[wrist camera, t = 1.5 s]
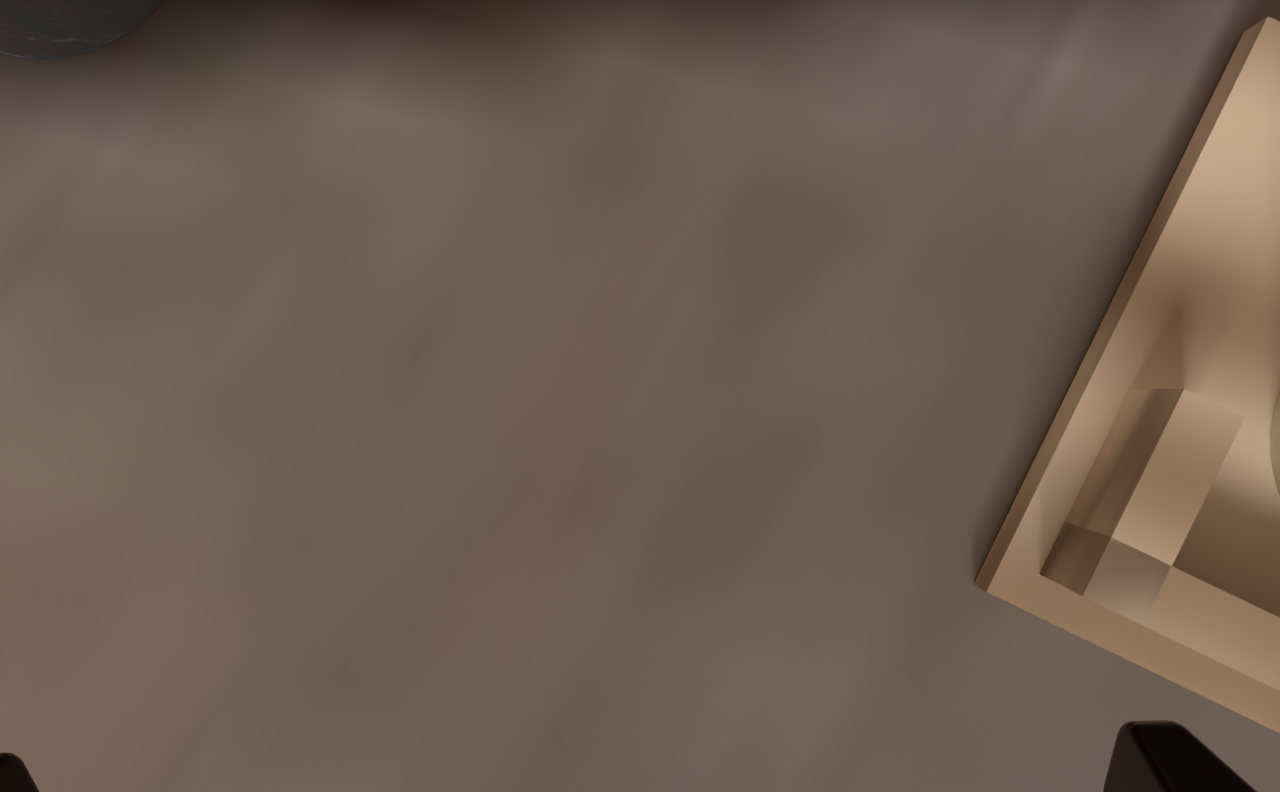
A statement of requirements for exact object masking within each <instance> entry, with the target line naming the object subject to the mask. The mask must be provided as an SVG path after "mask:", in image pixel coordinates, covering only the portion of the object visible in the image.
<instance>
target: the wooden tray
mask: <svg viewBox="0 0 1280 792" xmlns="http://www.w3.org/2000/svg"><path fill="white" fill-rule="evenodd" d="M1279 393H1280V21H1277V20H1275V19H1273V18H1271V17H1269V16H1268V17H1266V18H1264V19H1263V20H1261V21H1260V22H1258V23H1257V24H1255V25H1254V26H1252V27H1251V28H1249V29H1247V30H1246V31H1244V32H1243V34H1242V36H1241V38H1240V40H1239V42H1238V44H1237V46H1236V48H1235V50H1234V52H1233V54H1232V57H1231V59H1230V61H1229V63H1228V65H1227V67H1226V69H1225V71H1224V73H1223V75H1222V77H1221V79H1220V81H1219V83H1218V85H1217V87H1216V89H1215V91H1214V93H1213V95H1212V97H1211V99H1210V102H1209V104H1208V106H1207V108H1206V110H1205V112H1204V114H1203V116H1202V118H1201V120H1200V122H1199V124H1198V126H1197V128H1196V130H1195V132H1194V134H1193V136H1192V138H1191V140H1190V142H1189V144H1188V147H1187V149H1186V151H1185V153H1184V155H1183V157H1182V159H1181V161H1180V163H1179V165H1178V167H1177V169H1176V171H1175V173H1174V175H1173V177H1172V179H1171V181H1170V183H1169V185H1168V187H1167V189H1166V192H1165V194H1164V196H1163V198H1162V200H1161V202H1160V204H1159V206H1158V208H1157V210H1156V212H1155V214H1154V216H1153V218H1152V220H1151V222H1150V224H1149V226H1148V228H1147V230H1146V232H1145V234H1144V237H1143V239H1142V241H1141V243H1140V245H1139V247H1138V249H1137V251H1136V253H1135V255H1134V257H1133V259H1132V261H1131V263H1130V265H1129V267H1128V269H1127V271H1126V273H1125V275H1124V277H1123V279H1122V282H1121V284H1120V286H1119V288H1118V290H1117V292H1116V294H1115V296H1114V298H1113V300H1112V302H1111V304H1110V306H1109V308H1108V310H1107V312H1106V314H1105V316H1104V318H1103V320H1102V322H1101V324H1100V327H1099V329H1098V331H1097V333H1096V335H1095V337H1094V339H1093V341H1092V343H1091V345H1090V347H1089V349H1088V351H1087V353H1086V355H1085V357H1084V359H1083V361H1082V363H1081V365H1080V367H1079V369H1078V372H1077V374H1076V376H1075V378H1074V380H1073V382H1072V384H1071V386H1070V388H1069V390H1068V392H1067V394H1066V396H1065V398H1064V400H1063V402H1062V404H1061V406H1060V408H1059V410H1058V412H1057V414H1056V417H1055V419H1054V421H1053V423H1052V425H1051V427H1050V429H1049V431H1048V433H1047V435H1046V437H1045V439H1044V441H1043V443H1042V445H1041V447H1040V449H1039V451H1038V453H1037V455H1036V457H1035V459H1034V461H1033V464H1032V466H1031V468H1030V470H1029V472H1028V474H1027V476H1026V478H1025V480H1024V482H1023V484H1022V486H1021V488H1020V490H1019V492H1018V494H1017V496H1016V498H1015V500H1014V502H1013V504H1012V506H1011V509H1010V511H1009V513H1008V515H1007V517H1006V519H1005V521H1004V523H1003V525H1002V527H1001V529H1000V531H999V533H998V535H997V537H996V539H995V541H994V543H993V545H992V547H991V549H990V551H989V554H988V556H987V558H986V560H985V562H984V564H983V566H982V568H981V570H980V572H979V574H978V576H977V578H976V580H975V582H974V584H975V585H977V586H978V587H980V588H981V589H983V590H984V591H986V592H988V593H990V594H992V595H994V596H996V597H998V598H1000V599H1002V600H1004V601H1006V602H1008V603H1010V604H1012V605H1014V606H1017V607H1019V608H1021V609H1023V610H1025V611H1027V612H1029V613H1031V614H1033V615H1035V616H1037V617H1039V618H1041V619H1044V620H1046V621H1048V622H1050V623H1052V624H1054V625H1056V626H1058V627H1060V628H1062V629H1064V630H1066V631H1068V632H1070V633H1073V634H1075V635H1077V636H1079V637H1081V638H1083V639H1085V640H1087V641H1089V642H1091V643H1093V644H1095V645H1097V646H1100V647H1102V648H1104V649H1106V650H1108V651H1110V652H1112V653H1114V654H1116V655H1118V656H1120V657H1122V658H1124V659H1127V660H1129V661H1131V662H1133V663H1135V664H1137V665H1139V666H1141V667H1143V668H1145V669H1147V670H1149V671H1151V672H1153V673H1156V674H1158V675H1160V676H1162V677H1164V678H1166V679H1168V680H1170V681H1172V682H1174V683H1176V684H1178V685H1180V686H1183V687H1185V688H1187V689H1189V690H1191V691H1193V692H1195V693H1197V694H1199V695H1201V696H1203V697H1205V698H1207V699H1209V700H1212V701H1214V702H1216V703H1218V704H1220V705H1222V706H1224V707H1226V708H1228V709H1230V710H1232V711H1234V712H1236V713H1239V714H1241V715H1243V716H1245V717H1247V718H1249V719H1251V720H1253V721H1255V722H1257V723H1259V724H1261V725H1263V726H1266V727H1268V728H1270V729H1272V730H1274V731H1276V732H1278V733H1280V495H1279V493H1278V490H1277V486H1276V483H1275V479H1274V476H1273V470H1272V463H1271V456H1270V433H1271V425H1272V417H1273V413H1274V409H1275V405H1276V402H1277V398H1278V395H1279Z"/></svg>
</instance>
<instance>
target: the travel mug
mask: <svg viewBox="0 0 1280 792" xmlns="http://www.w3.org/2000/svg"><path fill="white" fill-rule="evenodd" d="M161 1H162V0H0V54H2V55H7V56H13V57H18V58H31V59H52V58H62V57H69V56H73V55H77V54H82V53H86V52H89V51H91V50H94V49H97V48H99V47H102V46H105V45H107V44H108V43H110V42H112V41H114V40H116V39H118V38H120V37H121V36H123V35H125V34H126V33H127V32H129V31H130V30H132V29H133V28H134V27H136V26H137V25H138V24H140V23H141V22H142V21H143V20H144V19H145V18H146V17H147V16H148V15H149V14H150V13H152V12H153V11H154V10H155V9H156V7H157V6H158V5H159V4H160V2H161Z"/></svg>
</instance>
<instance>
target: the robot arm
mask: <svg viewBox="0 0 1280 792" xmlns="http://www.w3.org/2000/svg"><path fill="white" fill-rule="evenodd" d="M0 792H39V790H38V788H37V786H36V785H35V783H34V781H33V779H32V777H31V775H30V773H29V772H28V770H27V768H26V766H25V764H24V763H23V761H22V760H21V759H20V758H19V757H18V756H16V755H14V754H13V753H0ZM1103 792H1257V791H1256V790H1255V789H1253V788H1252V787H1251V786H1250V785H1249V784H1248V783H1247V782H1246V781H1244V780H1243V779H1242V778H1241V777H1240V776H1239V775H1238V774H1237V773H1236V772H1234V771H1233V770H1232V769H1231V768H1230V767H1229V766H1228V765H1227V764H1225V763H1224V762H1223V761H1222V760H1221V759H1220V758H1219V757H1218V756H1216V755H1215V754H1214V753H1213V752H1212V751H1211V750H1210V749H1209V748H1208V747H1206V746H1205V745H1204V744H1203V743H1202V742H1201V741H1200V740H1199V739H1197V738H1196V737H1195V736H1194V735H1193V734H1192V733H1191V732H1190V731H1189V730H1187V729H1186V728H1185V727H1183V726H1182V725H1180V724H1178V723H1176V722H1173V721H1167V720H1161V721H1131V722H1127V723H1125V724H1124V725H1123V726H1122V727H1121V728H1120V730H1119V732H1118V735H1117V738H1116V742H1115V746H1114V750H1113V753H1112V757H1111V761H1110V765H1109V769H1108V772H1107V776H1106V780H1105V784H1104V790H1103Z"/></svg>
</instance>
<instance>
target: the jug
mask: <svg viewBox="0 0 1280 792" xmlns="http://www.w3.org/2000/svg"><path fill="white" fill-rule="evenodd" d="M1270 456H1271V463H1272V470H1273V476H1274V479H1275V483H1276V486H1277V490H1278V493H1279V495H1280V393H1279V395H1278V398H1277V402H1276V405H1275V409H1274V413H1273V417H1272V425H1271V433H1270Z"/></svg>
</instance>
